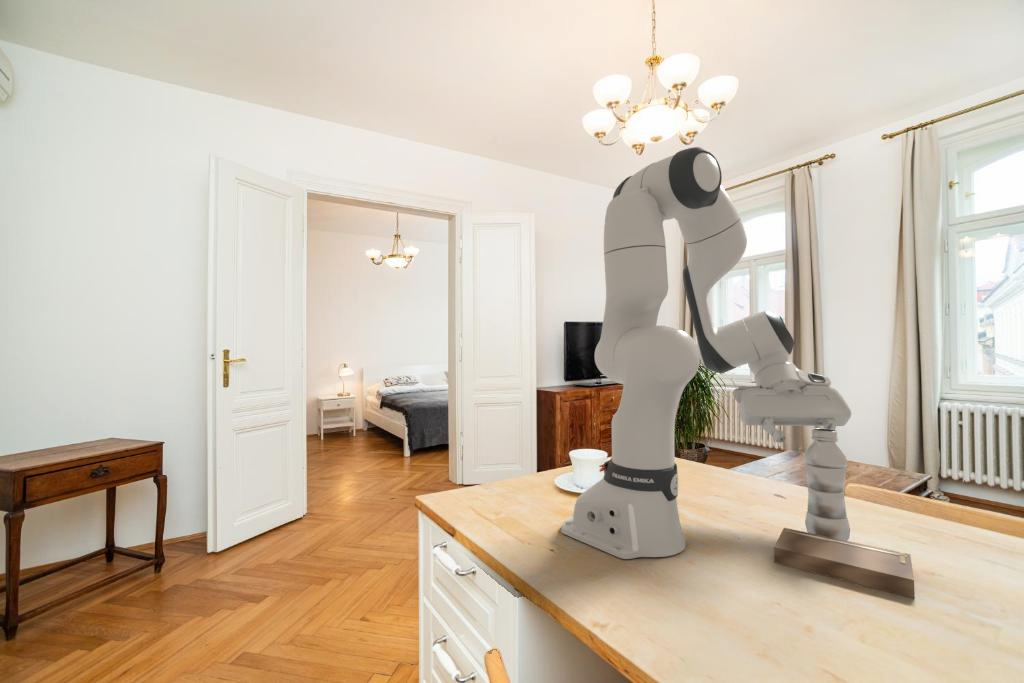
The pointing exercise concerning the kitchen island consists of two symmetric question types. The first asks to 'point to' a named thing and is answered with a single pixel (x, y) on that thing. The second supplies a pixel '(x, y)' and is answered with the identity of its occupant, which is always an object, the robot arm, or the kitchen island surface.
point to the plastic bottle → (826, 486)
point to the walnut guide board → (846, 561)
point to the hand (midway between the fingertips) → (806, 441)
